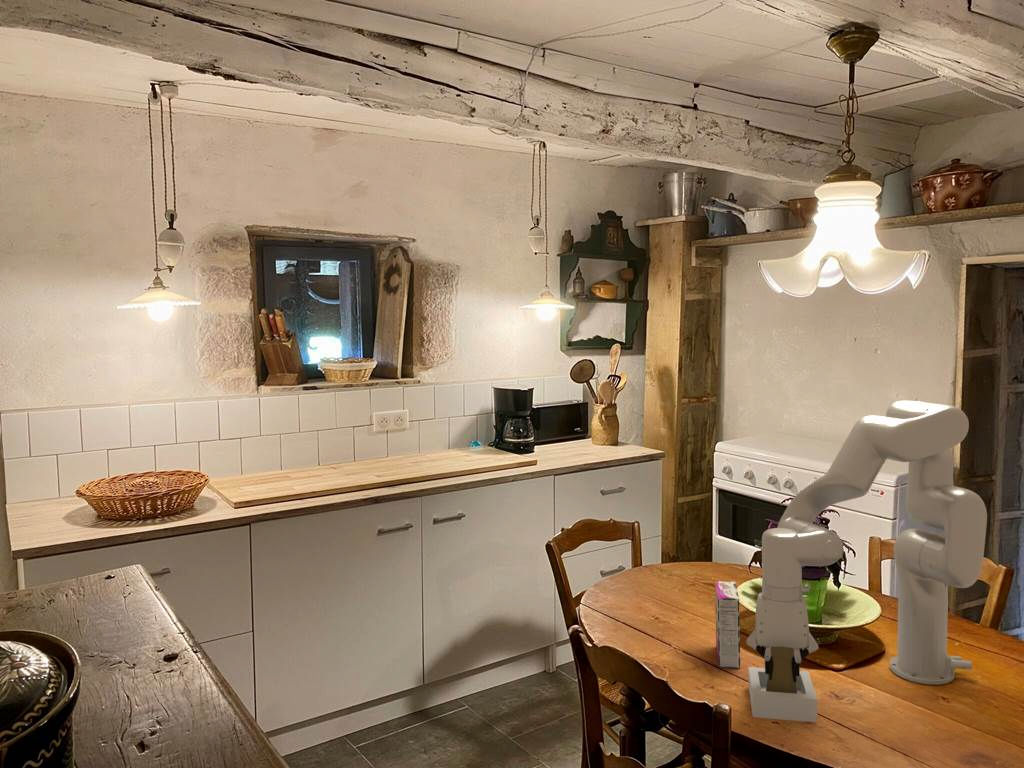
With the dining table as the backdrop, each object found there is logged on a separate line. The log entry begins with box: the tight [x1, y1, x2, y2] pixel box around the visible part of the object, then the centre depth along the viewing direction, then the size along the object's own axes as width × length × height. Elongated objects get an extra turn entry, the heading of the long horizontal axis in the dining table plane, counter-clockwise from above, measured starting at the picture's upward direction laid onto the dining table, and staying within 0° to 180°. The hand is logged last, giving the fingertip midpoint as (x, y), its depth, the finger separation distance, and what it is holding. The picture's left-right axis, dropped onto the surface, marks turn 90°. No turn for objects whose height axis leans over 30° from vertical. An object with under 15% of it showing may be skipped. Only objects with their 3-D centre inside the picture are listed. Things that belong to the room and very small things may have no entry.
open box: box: [747, 666, 818, 723], centre depth 157 cm, size 12×12×5 cm
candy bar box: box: [714, 580, 741, 669], centre depth 178 cm, size 11×5×16 cm, turn 168°
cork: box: [766, 646, 797, 694], centre depth 156 cm, size 6×6×11 cm
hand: (782, 677), depth 156 cm, fingers closed on cork, 3 cm apart
